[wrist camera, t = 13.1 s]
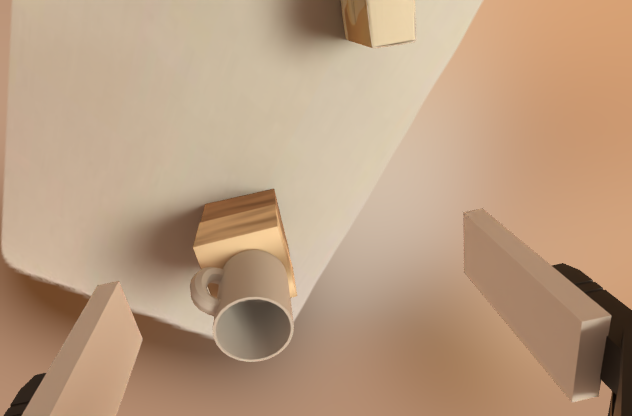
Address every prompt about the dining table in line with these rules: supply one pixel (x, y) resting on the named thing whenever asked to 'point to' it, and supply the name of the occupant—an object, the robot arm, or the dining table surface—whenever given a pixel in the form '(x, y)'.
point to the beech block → (242, 240)
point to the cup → (247, 305)
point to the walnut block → (241, 206)
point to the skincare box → (379, 22)
